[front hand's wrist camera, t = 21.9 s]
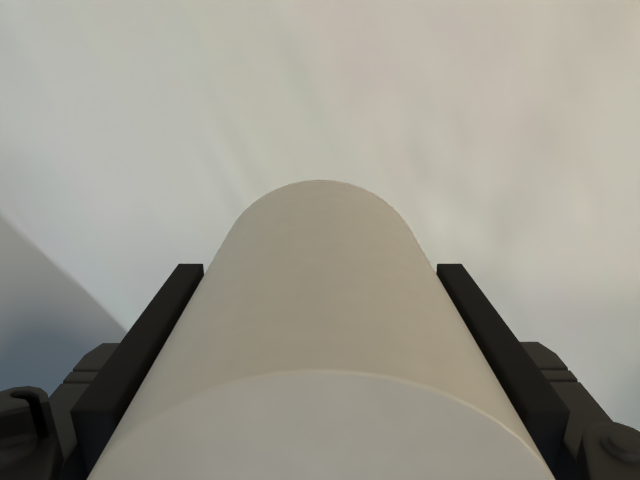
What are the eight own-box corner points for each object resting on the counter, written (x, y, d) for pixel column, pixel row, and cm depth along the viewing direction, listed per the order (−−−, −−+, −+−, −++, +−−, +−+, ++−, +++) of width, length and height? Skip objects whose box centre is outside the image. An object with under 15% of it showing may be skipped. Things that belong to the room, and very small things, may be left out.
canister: (224, 167, 15) (46, 340, 5) (441, 193, 15) (653, 402, 5) (215, 353, 17) (84, 702, 8) (401, 372, 18) (498, 730, 8)
